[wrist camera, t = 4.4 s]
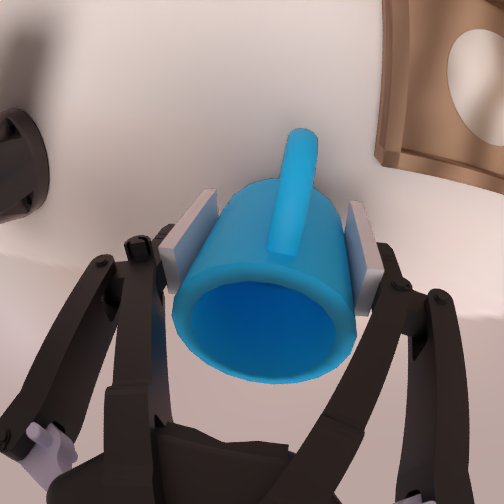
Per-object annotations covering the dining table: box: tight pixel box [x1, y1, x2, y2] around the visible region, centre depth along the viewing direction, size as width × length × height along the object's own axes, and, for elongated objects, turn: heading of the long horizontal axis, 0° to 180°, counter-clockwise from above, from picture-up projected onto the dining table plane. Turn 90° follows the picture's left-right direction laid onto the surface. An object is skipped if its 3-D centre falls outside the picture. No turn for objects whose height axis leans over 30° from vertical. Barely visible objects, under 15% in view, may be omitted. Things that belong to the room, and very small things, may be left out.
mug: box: [172, 128, 357, 384], centre depth 14 cm, size 12×8×8 cm
